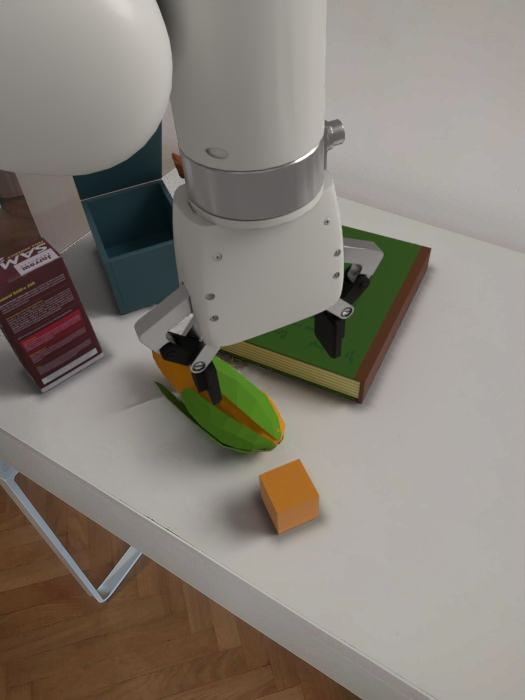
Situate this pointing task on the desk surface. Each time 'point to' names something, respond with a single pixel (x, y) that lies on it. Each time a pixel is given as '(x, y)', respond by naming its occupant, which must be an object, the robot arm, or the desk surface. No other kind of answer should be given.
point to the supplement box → (45, 315)
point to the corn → (226, 407)
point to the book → (347, 326)
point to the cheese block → (289, 496)
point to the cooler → (135, 243)
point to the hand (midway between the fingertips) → (270, 367)
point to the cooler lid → (125, 171)
